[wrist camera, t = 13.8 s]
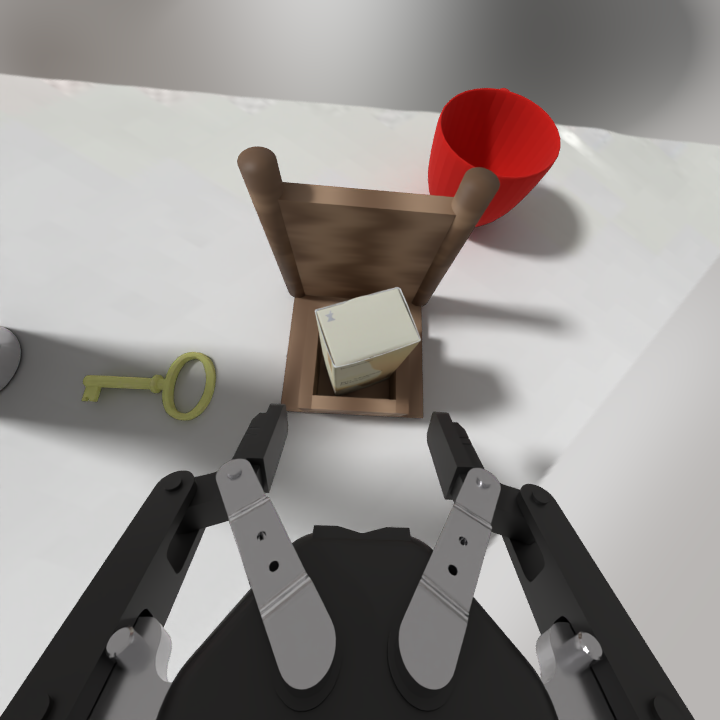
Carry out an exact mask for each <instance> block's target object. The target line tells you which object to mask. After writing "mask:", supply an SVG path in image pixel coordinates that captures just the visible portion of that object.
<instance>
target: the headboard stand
mask: <svg viewBox="0 0 720 720" xmlns="http://www.w3.org/2000/svg"><path fill="white" fill-rule="evenodd" d="M237 163H238V167H239V169H240V172H241V174H242V177H243V179H244V182H245V184H246V187H247V189H248V192H249V194H250V197H251V199H252V202H253V204H254V207H255V209H256V211H257V214H258V216H259V219H260V221H261V224H262V226H263V229H264V231H265V234H266V236H267V239H268V241H269V244H270V246H271V249H272V251H273V254H274V256H275V259H276V261H277V264H278V266H279V269H280V271H281V274H282V276H283V279H284V281H285V284H286V286H287V289H288V291H289V293H290V295H291V296H293V297H295V299H294V307H293V314H292V322H291V330H290V337H289V345H288V353H287V360H286V368H285V376H284V383H283V391H282V399H281V404H285V405H286V410H287V411H293V412H312V413H331V414H349V415H368V416H387V417H406V418H423V374H422V318H421V306H424V305H425V304H426V303H427V302H428V301H429V299H430V297H431V296H432V294H433V293H434V291H435V289H436V288H437V286H438V285H439V283H440V282H441V280H442V278H443V277H444V275H445V274H446V272H447V270H448V269H449V267H450V266H451V264H452V263H453V261H454V259H455V258H456V256H457V255H458V253H459V251H460V250H461V248H462V247H463V245H464V244H465V242H466V240H467V239H468V237H469V236H470V234H471V232H472V231H473V229H474V228H475V226H476V225H477V223H478V221H479V220H480V218H481V217H482V215H483V213H484V212H485V210H486V209H487V207H488V206H489V204H490V202H491V201H492V199H493V198H494V196H495V194H496V193H497V191H498V190H499V187H500V181H499V179H498V177H497V176H496V175H495V174H494V173H493V172H492V171H490V170H488V169H486V168H482V167H475V168H471V169H469V170H468V171H467V172H466V173H465V175H464V177H463V179H462V181H461V183H460V185H459V188H458V190H457V192H456V194H455V196H454V197H446V196H435V195H423V194H412V193H401V192H389V191H378V190H367V189H355V188H344V187H333V186H321V185H310V184H299V183H288V182H282V179H281V175H280V171H279V167H278V163H277V159H276V156H275V154H274V153H273V152H272V151H271V150H269V149H267V148H264V147H251V148H248V149H246V150H244V151H243V152H242V153H241V154H240V155H239V157H238V160H237ZM395 287H399V288H400V289H401V290H402V293H403V295H404V297H405V300H406V302H407V304H408V307H409V310H410V312H411V314H412V317H413V320H414V322H415V325H416V327H417V330H418V333H419V335H420V338H421V341H420V342H419V343H418V344H417V346H416V347H415V348H414V349H413V350H412V351H411V353H410V354H409V355H408V356H407V357H406V358H405V360H404V361H403V362H402V363H401V364H400V366H399V367H398V368H397V369H396V370H395V371H394V373H393V374H392V375H391V376H390V378H389V379H387V380H385V381H382V382H380V383H377V384H374V385H371V386H369V387H366V388H363V389H360V390H357V391H354V392H351V393H347V394H344V395H340V396H335V393H334V391H333V388H332V385H331V382H330V379H329V376H328V372H327V369H326V365H325V362H324V357H323V352H322V346H321V341H320V336H319V330H318V325H317V320H316V315H315V310H316V309H319V308H323V307H326V306H330V305H334V304H337V303H341V302H344V301H348V300H351V299H354V298H357V297H361V296H365V295H369V294H373V293H377V292H380V291H384V290H388V289H392V288H395Z"/></svg>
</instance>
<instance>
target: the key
mask: <svg viewBox="0 0 720 720" xmlns="http://www.w3.org/2000/svg"><path fill="white" fill-rule="evenodd" d="M193 359H198V360H200V361H201V362H202V363H203V365H204V368H205V372H206V385H205V390H204V393H203V396H202V398H201V400H200V401H199V403H198V404H197V405H196V407H195V408H194V409H193V410H192V411H190V412H188V413H180V412H178V411H177V410H176V408H175V404H174V399H173V395H174V387H175V382H176V379H177V376H178V374H179V372H180V370H181V368H182V367H183V366H184V364H185V363H186V362H188V361H190V360H193ZM215 381H216V373H215V368H214V365H213V363H212V361H211V360H210V358H208V357H207V356H206V355H204V354H202V353H196V352H189V353H185V354H183V355H181V356H179V357H178V358H177V359H176V360H175V361H174V362H173V363H172V365H171V366H170V368H169V370H168V372H167V375H166V377H165V379H163V377H162V376H161V375H155V376H153V377H152V378H139V377H118V376H97V375H87V376H85V377H84V379H83V384H84V386H86V388H85V391H84V394H83V397H82V401H88V400H89V401H93V402H97V401H98V398H99V394H100V391H101V388H102V387H105V388H129V389H150V390H151V392H153V393H159V392H160V391H161V390H163V392H162V401H163V406H164V408H165V411H166V412H167V413H168V414H169V415H170V416H171V417H173V418H175V419H178V420H191V419H194V418H195V417H197V416H199V415H200V414H201V413H202V412H203V411H204V410H205V409H206V407H207V406H208V404H209V403H210V401H211V398H212V395H213V392H214V388H215Z"/></svg>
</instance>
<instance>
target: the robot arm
mask: <svg viewBox="0 0 720 720" xmlns="http://www.w3.org/2000/svg"><path fill="white" fill-rule="evenodd" d="M20 357H21V348H20V344H19V341H18V339H17V338H16V336H15V335H14V334H13V333H12V332H11V331H10V330H8V329H6V328H4V327H2V326H0V390H1V389H2V388H4V387H5V386H6V385H7V383H8V382H9V381H10V380H11V378H12V377H13V375H14V374H15V372H16V370H17V368H18V365H19V362H20ZM287 432H288V421H287V410H286V405H285V404H270V406H269V408H268V411H267V413H259V414H258V415H257V416H256V417H255V418H254V419H252V421H251V423H250V425H249V428H248V429H247V431H246V433H245V435H244V437H243V439H242V441H241V443H240V445H239V447H238V449H237V451H236V453H235V455H234V457H233V459H232V460H231V461H229V462H227V463H225V464H224V465H223V466H221V467H220V469H219V470H218V471H217V472H214V473H211V474H207V475H203V476H198V477H194V476H193V474H192V473H191V472H189V471H177V472H174V473H171V474H169V475H167V476H166V477H164V478H163V479H161V480H160V481H159V482H158V483H157V485H156V486H155V487H154V489H153V490H152V492H151V493H150V495H149V496H148V498H147V499H146V501H145V502H144V504H143V505H142V507H141V508H140V510H139V511H138V513H137V514H136V516H135V517H134V519H133V520H132V522H131V523H130V525H129V526H128V528H127V529H126V531H125V532H124V534H123V535H122V537H121V538H120V539H119V541H118V542H117V544H116V545H115V547H114V548H113V550H112V551H111V553H110V554H109V556H108V557H107V559H106V560H105V562H104V563H103V565H102V566H101V568H100V569H99V571H98V572H97V574H96V575H95V577H94V578H93V580H92V581H91V583H90V584H89V586H88V587H87V589H86V590H85V592H84V593H83V595H82V596H81V598H80V599H79V601H78V602H77V604H76V605H75V606H74V608H73V609H72V611H71V612H70V614H69V615H68V617H67V618H66V620H65V621H64V623H63V624H62V626H61V627H60V629H59V630H58V632H57V633H56V635H55V636H54V638H53V639H52V641H51V642H50V644H49V645H48V647H47V648H46V650H45V651H44V653H43V654H42V656H41V657H40V659H39V660H38V662H37V663H36V665H35V666H34V668H33V669H32V671H31V672H30V673H29V675H28V676H27V678H26V679H25V681H24V682H23V684H22V685H21V687H20V688H19V690H18V691H17V693H16V694H15V696H14V697H13V699H12V700H11V702H10V703H9V705H8V706H7V708H6V709H5V711H4V712H3V714H2V715H1V717H0V720H695V719H694V718H693V716H692V715H691V713H690V712H689V710H688V708H687V707H686V705H685V704H684V702H683V701H682V699H681V697H680V696H679V694H678V693H677V691H676V689H675V688H674V686H673V685H672V683H671V682H670V680H669V678H668V677H667V675H666V674H665V672H664V671H663V669H662V667H661V666H660V664H659V663H658V661H657V660H656V658H655V656H654V655H653V653H652V652H651V650H650V649H649V647H648V645H647V644H646V643H645V641H644V639H643V638H642V636H641V634H640V633H639V631H638V630H637V628H636V626H635V625H634V623H633V622H632V620H631V619H630V617H629V616H628V614H627V612H626V611H625V609H624V608H623V606H622V604H621V603H620V601H619V600H618V598H617V597H616V595H615V593H614V592H613V590H612V589H611V587H610V586H609V584H608V582H607V581H606V579H605V578H604V576H603V574H602V573H601V571H600V570H599V568H598V567H597V565H596V564H595V562H594V561H593V559H592V557H591V556H590V554H589V552H588V551H587V549H586V548H585V546H584V545H583V543H582V541H581V540H580V539H579V537H578V535H577V534H576V532H575V530H574V529H573V527H572V526H571V524H570V522H569V521H568V519H567V518H566V516H565V515H564V513H563V511H562V510H561V508H560V507H559V505H558V504H557V502H556V500H555V499H554V498H553V497H552V496H551V494H549V493H548V492H547V491H546V490H544V489H543V488H541V487H539V486H537V485H533V484H526V485H523V486H522V488H521V489H520V490H519V489H516V488H513V487H509V486H506V485H503V484H501V483H499V481H498V479H497V478H496V477H495V476H494V475H493V474H492V473H490V472H489V471H487V470H485V469H484V467H483V465H482V463H481V461H480V459H479V457H478V455H477V453H476V451H475V449H474V447H473V445H472V443H471V441H470V439H468V438H469V437H468V435H467V433H466V431H465V429H464V428H462V427H461V426H460V425H459V424H458V423H457V422H452V420H451V418H450V415H449V414H448V413H447V412H433V414H432V417H431V420H430V424H429V428H428V432H427V443H428V446H429V450H430V453H431V456H432V459H433V463H434V466H435V469H436V472H437V476H438V479H439V482H440V485H441V488H442V492H443V495H444V498H445V499H449V500H453V502H454V505H453V507H452V510H451V512H450V514H449V517H448V519H447V521H446V523H445V526H444V528H443V530H442V532H441V535H440V537H439V539H438V541H437V544H436V546H435V548H434V550H432V549H431V548H430V547H429V546H428V545H427V544H425V543H424V542H422V541H420V540H419V539H416V538H414V537H411V536H410V530H409V528H392V527H385V528H382V529H378V530H374V531H370V532H366V533H358V532H355V531H352V530H349V529H346V528H342V527H339V526H321V525H314V529H313V533H312V534H308V535H306V536H303V537H301V538H299V539H298V540H296V541H295V542H293V543H291V541H290V539H289V537H288V535H287V532H286V530H285V528H284V526H283V524H282V522H281V520H280V518H279V516H278V514H277V512H276V510H275V508H274V506H273V504H272V502H271V500H270V498H269V497H266V495H265V493H269V491H270V488H271V485H272V482H273V478H274V475H275V472H276V469H277V466H278V463H279V459H280V456H281V453H282V450H283V447H284V444H285V440H286V437H287ZM226 521H229V523H230V526H231V529H232V532H233V535H234V538H235V541H236V544H237V547H238V550H239V553H240V556H241V559H242V562H243V566H244V569H245V572H246V575H247V578H248V581H249V584H250V587H251V589H250V590H249V591H248V592H247V593H246V595H245V596H244V597H243V598H242V599H241V600H240V601H239V602H238V604H237V605H236V606H235V607H234V608H233V609H232V610H231V612H230V613H229V614H228V615H227V616H226V617H225V618H224V620H223V621H222V622H221V623H220V624H219V625H218V626H217V628H216V629H215V630H214V631H213V632H212V633H211V634H210V636H209V637H208V638H207V639H206V640H205V641H204V642H203V643H202V645H201V646H200V647H199V648H198V649H197V650H196V651H195V653H194V654H193V655H192V656H191V657H190V658H189V660H188V661H187V662H186V663H185V664H184V666H183V667H182V668H181V670H180V671H179V673H178V674H177V676H176V677H175V679H174V681H173V682H172V683H170V682H168V679H167V667H168V662H169V658H170V655H171V650H172V641H171V637H170V635H169V634H168V632H167V631H166V630H165V629H164V625H165V623H166V620H167V618H168V616H169V613H170V611H171V609H172V606H173V604H174V602H175V599H176V597H177V594H178V592H179V590H180V587H181V585H182V583H183V580H184V578H185V576H186V573H187V571H188V568H189V566H190V564H191V561H192V559H193V557H194V554H195V552H196V550H197V547H198V545H199V542H200V540H201V538H202V535H203V533H204V531H205V528H206V527H209V526H212V525H215V524H219V523H222V522H226ZM491 532H494V533H497V534H500V535H502V537H503V540H504V542H505V545H506V547H507V550H508V552H509V555H510V557H511V560H512V563H513V565H514V568H515V570H516V573H517V575H518V578H519V580H520V583H521V585H522V588H523V590H524V593H525V595H526V598H527V600H528V603H529V605H530V608H531V610H532V613H533V616H534V618H535V621H536V623H537V626H538V628H539V631H540V633H541V636H540V637H539V638H538V640H537V643H536V653H537V657H538V661H539V665H540V671H541V678H540V677H539V676H538V674H537V673H536V671H535V670H534V668H533V667H532V666H531V665H530V663H529V662H528V661H527V660H526V658H525V657H524V656H523V655H522V654H521V652H520V651H519V650H518V649H517V648H516V647H515V645H514V644H513V643H512V642H511V641H510V639H509V638H508V637H507V636H506V635H505V634H504V632H503V631H502V630H501V629H500V628H499V627H498V625H497V624H496V623H495V622H494V621H493V619H492V618H491V617H490V616H489V615H488V614H487V612H486V611H485V610H484V609H483V608H482V606H481V605H480V604H479V603H478V602H477V601H476V599H475V598H474V597H473V595H474V592H475V588H476V585H477V581H478V577H479V574H480V570H481V566H482V563H483V559H484V556H485V552H486V548H487V545H488V541H489V538H490V534H491Z"/></svg>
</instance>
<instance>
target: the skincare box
mask: <svg viewBox="0 0 720 720" xmlns="http://www.w3.org/2000/svg"><path fill="white" fill-rule="evenodd" d="M315 315H316V320H317V325H318V330H319V336H320V341H321V346H322V352H323V357H324V362H325V365H326V369H327V372H328V376H329V379H330V382H331V385H332V388H333V391H334V393H335V396H340V395H344V394H347V393H351V392H354V391H357V390H360V389H363V388H366V387H369V386H371V385H374V384H377V383H380V382H382V381H385V380H387V379H389V378H390V376H391V375H392V374H393V373H394V371H395V370H396V369H397V368H398V367H399V366H400V364H401V363H402V362H403V361H404V360H405V358H406V357H407V356H408V355H409V354H410V353H411V351H412V350H413V349H414V348H415V347H416V346H417V344H418V343H419V342H420V341H421V338H420V335H419V333H418V330H417V327H416V325H415V322H414V320H413V317H412V314H411V312H410V310H409V307H408V304H407V302H406V300H405V297H404V295H403V293H402V290H401V289H400V288H399V287H395V288H392V289H388V290H384V291H380V292H377V293H373V294H369V295H365V296H361V297H357V298H354V299H351V300H348V301H344V302H341V303H337V304H334V305H330V306H326V307H323V308H319V309H316V310H315Z"/></svg>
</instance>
